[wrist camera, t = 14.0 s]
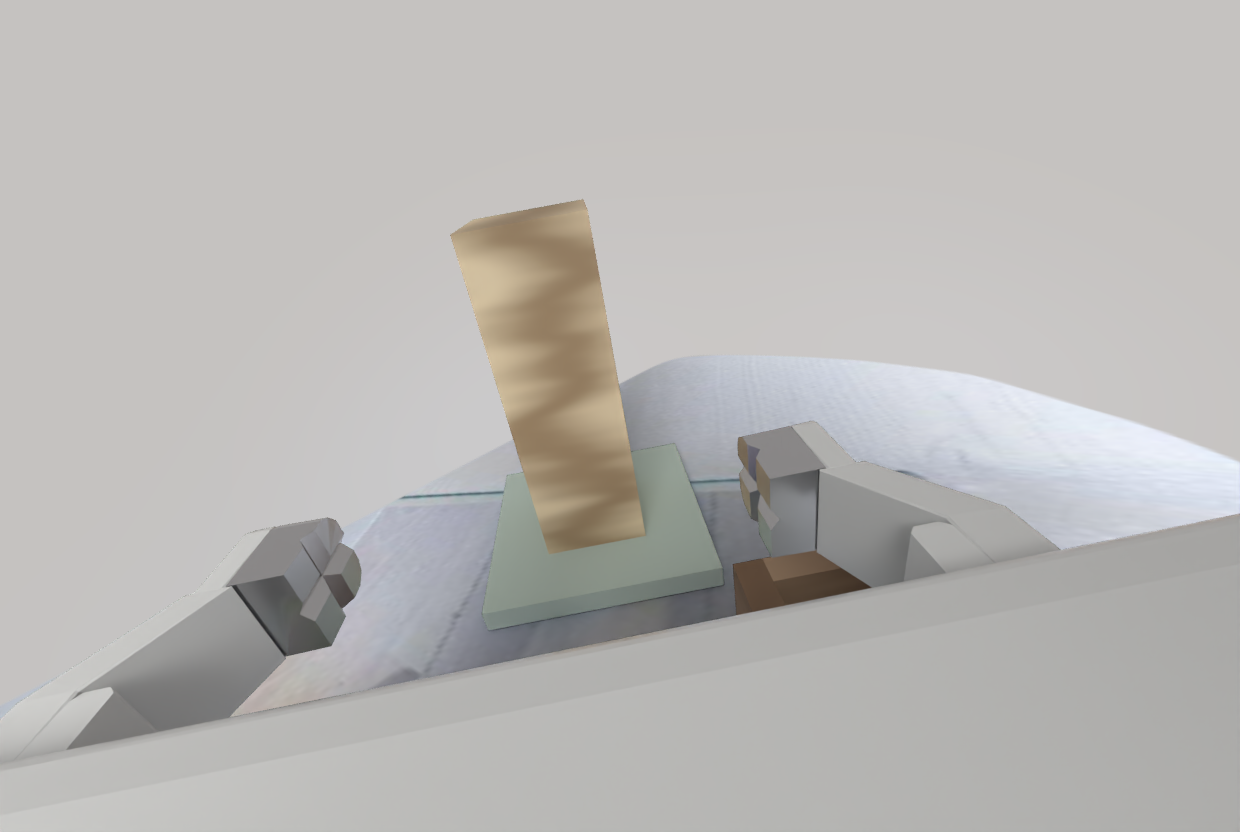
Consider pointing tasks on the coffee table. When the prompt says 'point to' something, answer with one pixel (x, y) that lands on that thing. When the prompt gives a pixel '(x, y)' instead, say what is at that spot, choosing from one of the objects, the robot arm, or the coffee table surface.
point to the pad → (601, 552)
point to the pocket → (789, 581)
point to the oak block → (554, 369)
